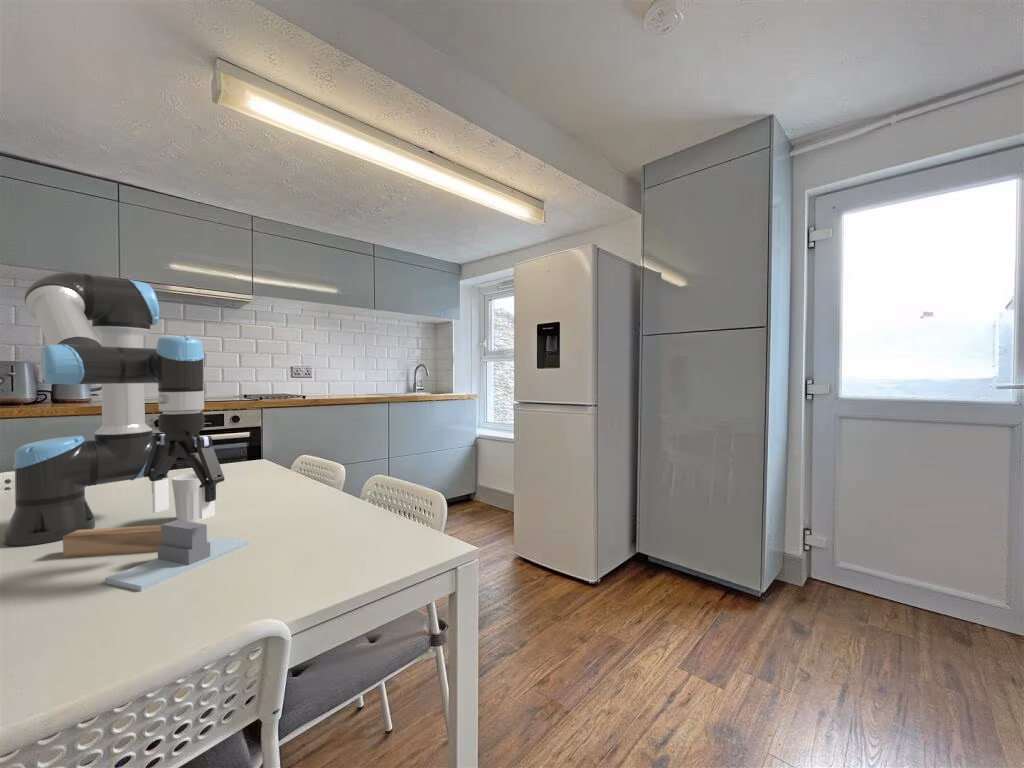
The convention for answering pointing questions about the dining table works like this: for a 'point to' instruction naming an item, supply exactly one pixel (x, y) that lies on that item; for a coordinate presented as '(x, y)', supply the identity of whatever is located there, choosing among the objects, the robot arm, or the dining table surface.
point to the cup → (186, 497)
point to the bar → (111, 541)
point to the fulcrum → (176, 555)
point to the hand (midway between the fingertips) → (183, 514)
